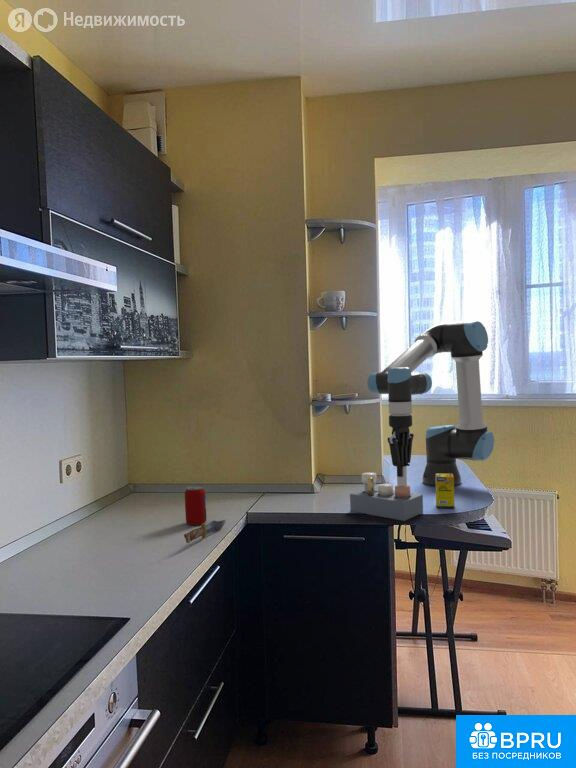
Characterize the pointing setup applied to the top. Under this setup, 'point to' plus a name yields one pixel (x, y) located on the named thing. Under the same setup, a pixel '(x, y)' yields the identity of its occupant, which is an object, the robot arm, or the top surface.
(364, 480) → the knob
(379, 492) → the knob
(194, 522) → the beverage can
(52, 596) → the top surface
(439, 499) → the supplement box
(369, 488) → the pot post
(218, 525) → the knife
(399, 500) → the mount
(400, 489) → the knob
